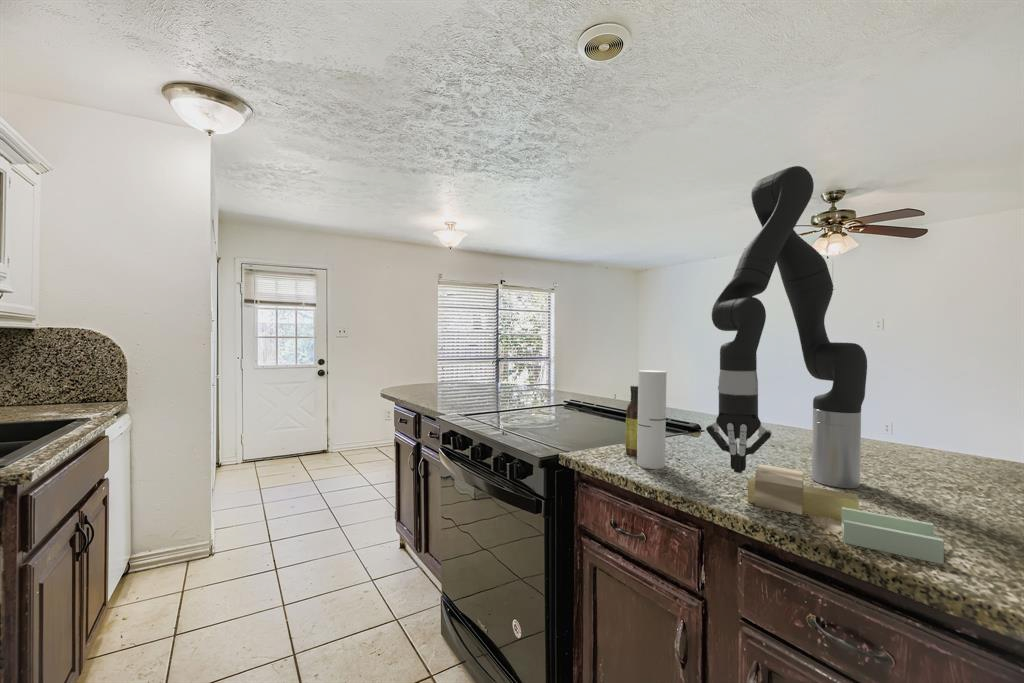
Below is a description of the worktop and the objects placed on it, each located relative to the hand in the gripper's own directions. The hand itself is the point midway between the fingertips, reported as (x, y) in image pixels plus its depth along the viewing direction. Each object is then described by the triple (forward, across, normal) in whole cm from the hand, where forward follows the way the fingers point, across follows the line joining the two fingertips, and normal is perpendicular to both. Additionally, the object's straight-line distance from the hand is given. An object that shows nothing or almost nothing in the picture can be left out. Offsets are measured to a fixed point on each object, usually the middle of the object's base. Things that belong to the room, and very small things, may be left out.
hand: (738, 471), depth 95 cm
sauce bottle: (+5, +29, -22) cm, 37 cm away
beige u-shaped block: (+5, -8, 0) cm, 9 cm away
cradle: (+5, -23, +10) cm, 26 cm away
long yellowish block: (+4, -11, +1) cm, 12 cm away
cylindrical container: (+5, +22, -12) cm, 26 cm away
